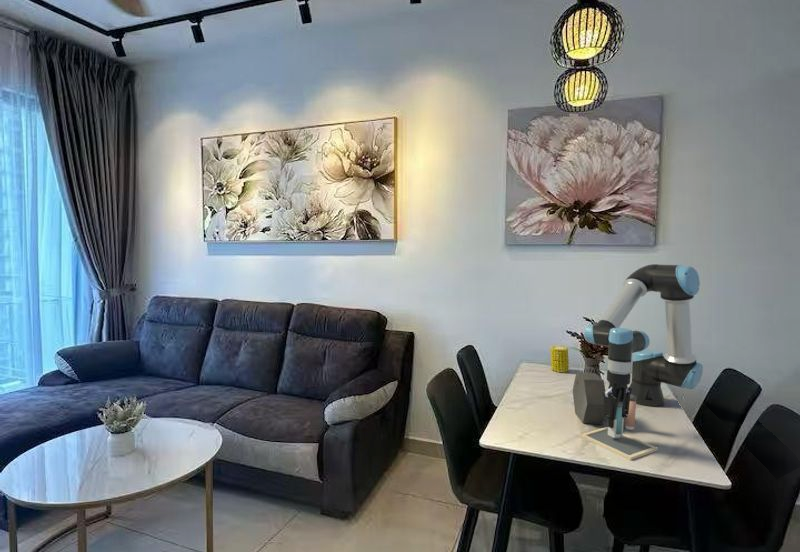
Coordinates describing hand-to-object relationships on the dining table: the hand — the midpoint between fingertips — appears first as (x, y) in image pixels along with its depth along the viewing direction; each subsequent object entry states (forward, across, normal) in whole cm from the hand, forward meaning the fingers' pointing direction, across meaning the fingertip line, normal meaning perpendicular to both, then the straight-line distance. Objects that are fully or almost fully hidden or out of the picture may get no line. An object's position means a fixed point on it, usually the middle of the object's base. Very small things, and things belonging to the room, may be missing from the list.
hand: (615, 434), depth 154 cm
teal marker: (+1, 0, 0) cm, 1 cm away
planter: (+2, -9, -18) cm, 20 cm away
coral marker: (+2, -15, -4) cm, 15 cm away
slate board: (+2, +1, +2) cm, 3 cm away
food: (+2, -53, -71) cm, 89 cm away
